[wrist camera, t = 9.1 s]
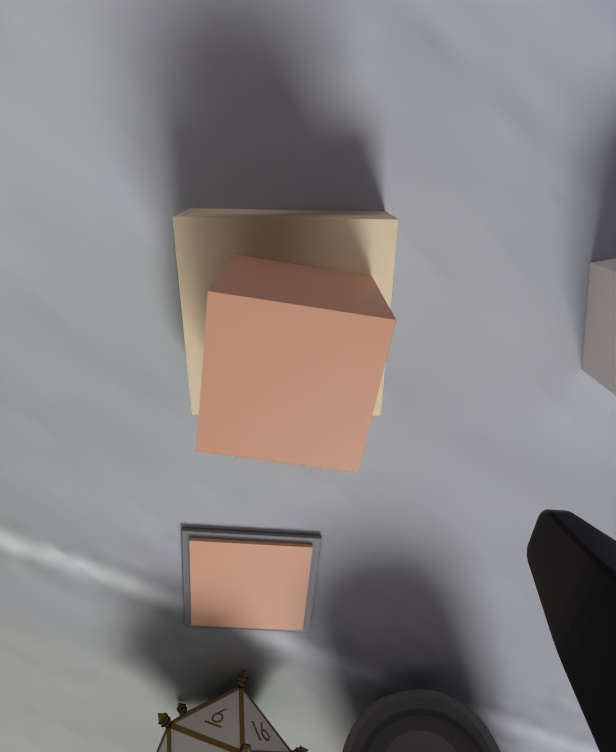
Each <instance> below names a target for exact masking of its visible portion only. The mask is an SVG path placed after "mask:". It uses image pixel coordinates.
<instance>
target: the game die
mask: <svg viewBox="0 0 616 752" xmlns="http://www.w3.org/2000/svg"><path fill="white" fill-rule="evenodd" d="M247 679H248V678H247V674H246V669H245V670H244V672H243V673H242V674H241V675H239V680H238V687H236V688H234V689H232V690H230V691H228V692H226V693H224V694H222V695H220V696H218V697H216V698H214V699H212V700H210V701H207V702H205V703H203V704H201V705H199V706H197V707H195V708H193V709H191V710H189V711H187V707H186V704H182V703H178V708H177V711H178V713H179V714H180V716H179V717H177V718H176V719H174V720H173V721H171V720H170V719H171V718H170V717H169V716H168V714H166V713H158V718H159V723H158V724H161V725H162V726H161V727H166V730H165V732H164V734H163V737H162V739H161V742H160V744H159V747H158V749H157V752H307V751H308V749H306V748H303V747H301V746H300V747H299V748H297V747H296V749H295V750H293V751H292V750H291V749H290V748H289V747H288V746H287V744H286V743H285V742H284V740H283V739H282V738H281V736H280V735H279V734H278V733H277V731H276V730H275V729H274V727H273V726H272V725H271V723H270V722H269V721H268V720H267V718H266V717H265V716H264V714H263V713H262V712H261V711H260V709H259V708H258V707H257V705H256V704H255V703H254V701H253V700H252V699H251V698H250V696H249V695H248V694H247V692H246V691H245V690H244V689H243V688H244V685H245V684H246V680H247Z"/></svg>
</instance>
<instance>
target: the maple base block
mask: <svg viewBox="0 0 616 752" xmlns="http://www.w3.org/2000/svg"><path fill="white" fill-rule="evenodd" d="M172 219H173V229H174V239H175V249H176V259H177V269H178V279H179V289H180V299H181V309H182V319H183V329H184V339H185V349H186V359H187V369H188V379H189V389H190V399H191V409H192V415H199V406H200V392H201V378H202V364H203V350H204V337H205V323H206V309H207V295H208V290H209V289H210V287H211V286H212V284H213V283H214V282H215V280H216V279H217V277H218V276H219V275H220V273H221V272H222V270H223V269H224V268H225V266H226V265H227V263H228V262H229V260H230V259H231V258H232V256H233V255H234V254H236V255H242V256H248V257H255V258H261V259H267V260H273V261H280V262H286V263H292V264H298V265H305V266H311V267H317V268H323V269H330V270H336V271H342V272H348V273H355V274H361V275H367V276H372V277H373V279H374V281H375V283H376V284H377V286H378V288H379V290H380V292H381V293H382V295H383V297H384V299H385V301H386V302H387V304H388V306H389V308H390V307H391V296H392V285H393V274H394V263H395V252H396V241H397V230H398V219H397V218H395V217H394V216H392V215H391V214H389V213H387V212H386V211H356V210H287V209H219V208H189V209H187V210H185V211H183V212H180V213H178V214H176V215H174V216H172ZM384 373H385V367H384V371H383V375H382V379H381V383H380V387H379V391H378V395H377V399H376V403H375V407H374V411H373V415H372V416H381V406H382V395H383V384H384Z"/></svg>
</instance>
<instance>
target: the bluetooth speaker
mask: <svg viewBox="0 0 616 752" xmlns="http://www.w3.org/2000/svg"><path fill="white" fill-rule="evenodd" d="M343 752H500V750H499V748H498V746H497V744H496V742H495V740H494V738H493V736H492V735H491V733H490V732H489V730H488V729H487V727H486V726H485V725H484V723H483V722H482V721H481V720H480V719H479V718H478V716H477V715H476V714H475V713H473V712H472V711H471V710H470V709H469V708H468V707H467V706H465V705H464V704H463V703H461V702H460V701H458V700H457V699H455V698H453V697H451V696H449V695H447V694H445V693H442V692H438V691H435V690H427V689H418V690H408V691H402V692H397V693H394V694H391V695H388V696H385V697H383V698H381V699H379V700H377V701H376V702H374V703H373V704H372V705H370V706H369V707H368V708H367V709H366V710H365V711H364V712H363V713H362V714H361V715H360V717H359V718H358V719H357V721H356V722H355V724H354V725H353V727H352V729H351V731H350V733H349V735H348V737H347V740H346V742H345V745H344V748H343Z"/></svg>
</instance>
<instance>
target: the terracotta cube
mask: <svg viewBox="0 0 616 752" xmlns="http://www.w3.org/2000/svg"><path fill="white" fill-rule="evenodd" d="M395 323H396V319H395V317H394V315H393V313H392V311H391V310H390V308H389V306H388V304H387V302H386V301H385V299H384V297H383V295H382V293H381V292H380V290H379V288H378V286H377V284H376V283H375V281H374V279H373V277H372V276H367V275H361V274H355V273H348V272H342V271H336V270H330V269H323V268H317V267H311V266H305V265H298V264H292V263H286V262H280V261H273V260H267V259H261V258H255V257H248V256H242V255H236V254H234V255H233V256H232V258H231V259H230V260H229V262H228V263H227V265H226V266H225V268H224V269H223V270H222V272H221V273H220V275H219V276H218V277H217V279H216V280H215V282H214V283H213V284H212V286H211V287H210V289H209V290H208V295H207V309H206V323H205V337H204V350H203V364H202V378H201V392H200V406H199V419H198V433H197V447H196V452H204V453H212V454H219V455H227V456H235V457H243V458H251V459H258V460H266V461H274V462H282V463H289V464H297V465H305V466H313V467H321V468H328V469H336V470H344V471H352V472H358V471H359V467H360V463H361V459H362V455H363V451H364V447H365V443H366V439H367V435H368V431H369V427H370V423H371V419H372V415H373V411H374V407H375V403H376V399H377V395H378V391H379V387H380V383H381V379H382V375H383V371H384V367H385V363H386V359H387V355H388V351H389V347H390V343H391V339H392V335H393V331H394V327H395Z"/></svg>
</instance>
